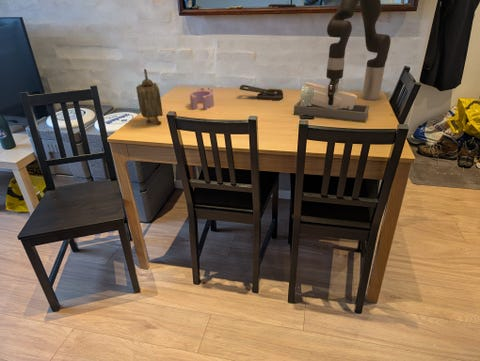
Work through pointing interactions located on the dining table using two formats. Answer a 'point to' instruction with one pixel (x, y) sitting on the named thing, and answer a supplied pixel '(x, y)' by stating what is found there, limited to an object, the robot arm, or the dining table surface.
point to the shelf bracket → (339, 99)
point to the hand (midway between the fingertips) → (331, 103)
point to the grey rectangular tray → (334, 112)
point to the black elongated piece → (265, 93)
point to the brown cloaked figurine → (149, 99)
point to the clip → (202, 98)
